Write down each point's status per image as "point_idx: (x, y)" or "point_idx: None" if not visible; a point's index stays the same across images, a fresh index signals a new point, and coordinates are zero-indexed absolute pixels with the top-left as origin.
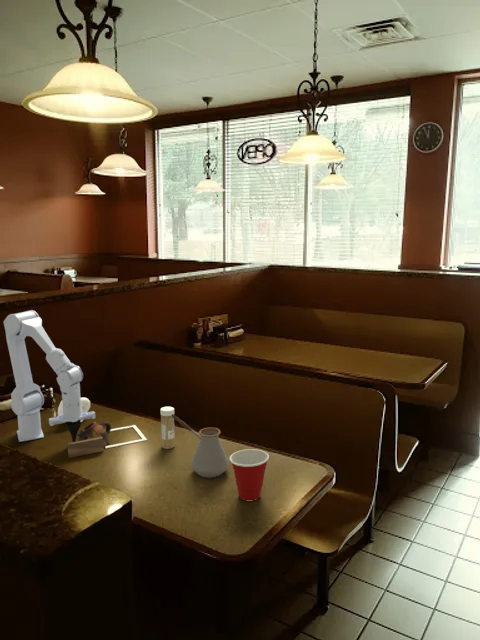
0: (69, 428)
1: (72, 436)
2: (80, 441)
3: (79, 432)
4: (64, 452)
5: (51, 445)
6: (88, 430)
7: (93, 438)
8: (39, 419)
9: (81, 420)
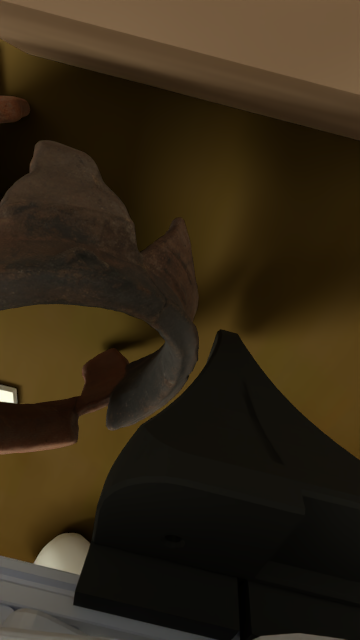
0: (356, 468)
1: (258, 368)
2: (323, 37)
3: (151, 399)
4: (354, 268)
5: (335, 430)
6: (46, 258)
7: (48, 4)
8: None
9: (56, 544)
